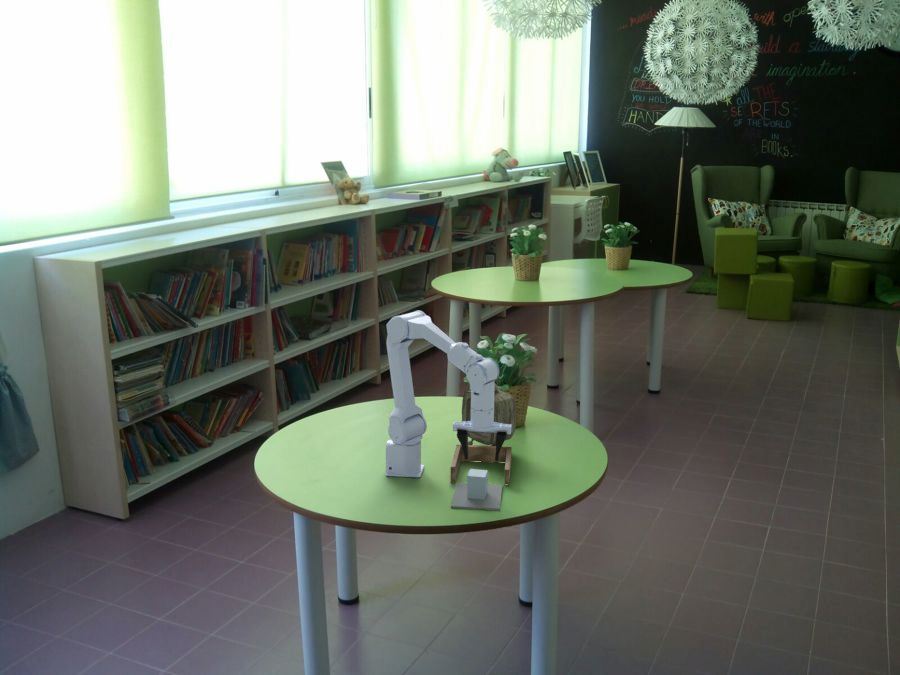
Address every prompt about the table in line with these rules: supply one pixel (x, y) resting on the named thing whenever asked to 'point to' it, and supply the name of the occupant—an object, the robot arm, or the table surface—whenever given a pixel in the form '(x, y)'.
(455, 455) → the brown u-shaped frame
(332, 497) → the table surface
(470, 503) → the pad
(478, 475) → the block
